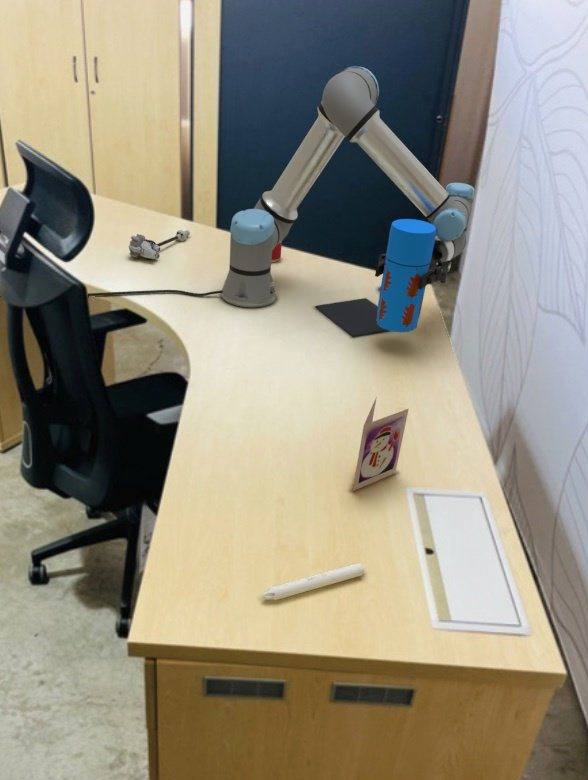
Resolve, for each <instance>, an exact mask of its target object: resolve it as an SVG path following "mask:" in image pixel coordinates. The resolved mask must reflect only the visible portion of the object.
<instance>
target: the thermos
mask: <svg viewBox="0 0 588 780" xmlns="http://www.w3.org/2000/svg"><path fill="white" fill-rule="evenodd" d="M388 234H389V235H388V239H387V240H388V241H387V247H386V259H385V265H384V271H383V274H382V278H381V284H380V289H379V295H378V302H377V306H378V309H377V318H376V323H377V324H378V326H380V327H382V328H383V329H386V330H389V331H388V332H394V333H409V332H412V331H414V330H416V329H417V327H418V323H419V320H420V315H421V313H422V312H421V311H422V306H423V301H424V296H425V291H426V287H427V285H426V286H425V287H424V288H422V289H418V286H419V281H420V278H421V277H422V276H424V275H425V274H426V273H428V272H429V267H430V262H431V257H432V252H433V247H434V242H435V237H436V227H435V226H434V225H433V224H432V223H431V222H428V221H424V220H420V219H413V218H401V219H396V220H395V219H394V221H392V223H391V226H390V229H389V233H388Z"/></svg>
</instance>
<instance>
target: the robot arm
mask: <svg viewBox="0 0 588 780" xmlns="http://www.w3.org/2000/svg"><path fill="white" fill-rule="evenodd" d="M379 94H380V88H379V83H378V80H377V78H376V76H375V75H374V74H373V72H372V71H371V70H369V69H368V68H366V67H364V66H358V65H357V66H355V65H353V66H349V67H346V68H345V69H343V70H341V71H340V73H337V74H335V75H334V76H333V77H331V78H330V79H329V80H328V82H327V83H326V85H325V86H324V89H323V92H322V97H321V98H322V99H321V101H320V102H319V104H318V105H317V113H318V117H317V119H316V120H315V121H314V123H313V125H312V126H311V128H310V129H309V131H308V132H307V134H306V136H305V137H304V138H303V140H302V142H301V143H300V145H299V147H298V148H297V150H296V151H295V153H294V154H293V156H292V157H291V159H290V161H289V162H288V164H287V166H286V167H285V169H284V170H283V172H282V173H281V175H280V177H279V178H278V180H277V181H276V183H275V184H274V186H273V187H272V189H271V190H267V191H264V192H263V193H262V195H261V196H260V198H259V199H258V200H257V203H256V204H255V206H254V207H253V208H247V209H245V210H239V211H238V212H236V213H235V214H234V215H233V216H232V218H231V223H230V229H229V232H230V239H229V240H230V241H229V242H230V243H229V269H228V273H227V275H226V278H225V281H224V283H223V285H222V289H221V290H214V291H209V292H203V293H201V292H200V293H198V292H189V291H185V290H181V289H180V290H179V289H155V290H154V289H153V290H132V291H131V290H130V291H129V290H127V291H111V292H90V293H88V296H87V297H96V296H98V297H100V296H117V295H120V296H121V295H135V294H139V295H140V294H159V293H160V294H162V293H176V294H182V295H183V294H184V295H188V296H194V297H206V296H211V295H217V294H221V297H222V299H223V300H224V301H225V302H227V303H228V304H231V305H233V306H236V307H239V308H248V309H249V308H250V309H255V308H264V307H267V306H269V305H271V304H273V303H274V302H275V300H276V288H275V287H276V286H277V281H276V280H275V281H273V277H272V272H271V271H272V262H271V259H272V250H273V249H274V248H275V247H276V246H277V245H278V244H279V243H280V242H281V241H282V242H283V240H284V239H286V237H287V236H288V235H289V233H290V230H291V227H292V226H293V224H294V223H295V222H296V220H297V219H298V214H299V213H298V207H299V206H300V204H301V203H302V202H303V200H304V198H305V197H306V195H307V194H308V193H309V191H310V189H311V188H312V186H313V185H314V183H315V182H316V180H317V179H318V177H319V176H320V175H321V174H322V171H323V170H324V169H325V167H326V166H327V164H328V163H329V161H330V160H331V158H332V156H333V155H334V154H335V152H336V151H337V150H338V148H339V146H340V145H341V144H342V142H343V140H344V138H346V140H348V141H349V142H350V143H357V145H358V146H359V147H360V148H361V149H362V150H363V151H364V152H365V153H366V155H368V156H369V158H370V159H371V160H372V161H373V162H374V163H375V164H376V165H377V166H378V168H380V169H381V170H382V171H383V173H384V174H385V175H386V176H387V177H388V178H389V179H390V180H391V181H392V182H393V184H394V185H395V186H396V187H397V188H398V189H399V190H400V191H401V193H403V194H404V195H405V196H406V197H407V199H408V200H409V201H410V202H411V203H412V204H413V205H414V206H415V207H416V208H417V209H418V210H419V211H420V213H422V215H423V216H424V217H425V218H426V219H427V220H428V221H429V223H430V224H432V225H434V226H435V227H436V237H435V242H434V247H433V252H432V257H431V262H430V267H429V272H428V273H426V274H425V275H424V276H422V277H421V278H420V281H419V286H418V289H422V288H424V287H425V286H426V287H427V286H428V285H432V284H434V283H438V281H439V282H440V283H441V284H445V283H446V281H447V276H448V272H450V270H451V266H452V260H453V259H455V258H456V257H458V256H460V255H461V254H462V252H463V251H464V250H465V249H466V248H467V246H468V244H469V236H468V233H467V228H468V224H469V220H470V215H471V210H472V206H473V202H474V197H475V187H474V186H472V185H470V184H467V183H463V182H451V183H448V184H447V185H446V186H445V188H444V186H442V185H441V183H440V182H439V181H437V179H436V178H435V177H434V176H433V174H431V173H430V172H429V170H428V169H427V168H426V167H425V166H424V165H423V164H422V162H421V161H419V160H418V158H417V157H416V156H415V155H414V154H413V153H412V152H411V151H410V149H408V147H407V146H406V145H405V144H404V143H403V142H402V141H401V140H400V138H398V136H397V135H396V133H394V132H393V131H392V130H391V128H390V127H389V126H388V125H387V124H386V123H385V122H384V121H383V119H382V118H381V117H380V109H379V108H377V106H376V104H377V102H378V99H379ZM386 253H387V252H386ZM386 253H382V254H379V257H378V264H377V265H376V267H375V273H374V277H377V278H378V277H380V276H383V271H384V265H385V259H386ZM440 270H441V271H440ZM440 272H441V273H440ZM426 287H425V288H426Z"/></svg>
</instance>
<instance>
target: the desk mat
mask: <svg viewBox="0 0 588 780" xmlns="http://www.w3.org/2000/svg"><path fill="white" fill-rule="evenodd" d="M315 309H316V310H318V311H319V312H320V313H321V314H323V315H324V316H325V317H326V318H328V319H329V320H330V321H331V322H332V323H334V324H336V325H337V326H338V327H339V328H341V330H343V331H344V332H346V334H348V335H349V336H351V338H358V337H362V336H368V335H374V334H379V333H385V332H390V331H389V330H386V329H383V328H382V327H380V326H378V324H377V323H376V318H377V309H378V305H376V304H375V303H374V302H372V301H371V300H370V299H368V298H366V297H364V298H357V299H351V300H344V301H338V302H330V303H325V304H317V305H315Z"/></svg>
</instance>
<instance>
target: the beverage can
mask: <svg viewBox="0 0 588 780" xmlns="http://www.w3.org/2000/svg"><path fill="white" fill-rule="evenodd" d="M282 246H283V240H282V241H281V242H280V243H279V244H278V245H277V246H276V247H275V248H274V249H273V250H272V259H271V263H276V262H278V261H279V260H280V259H281V258H282Z"/></svg>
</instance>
